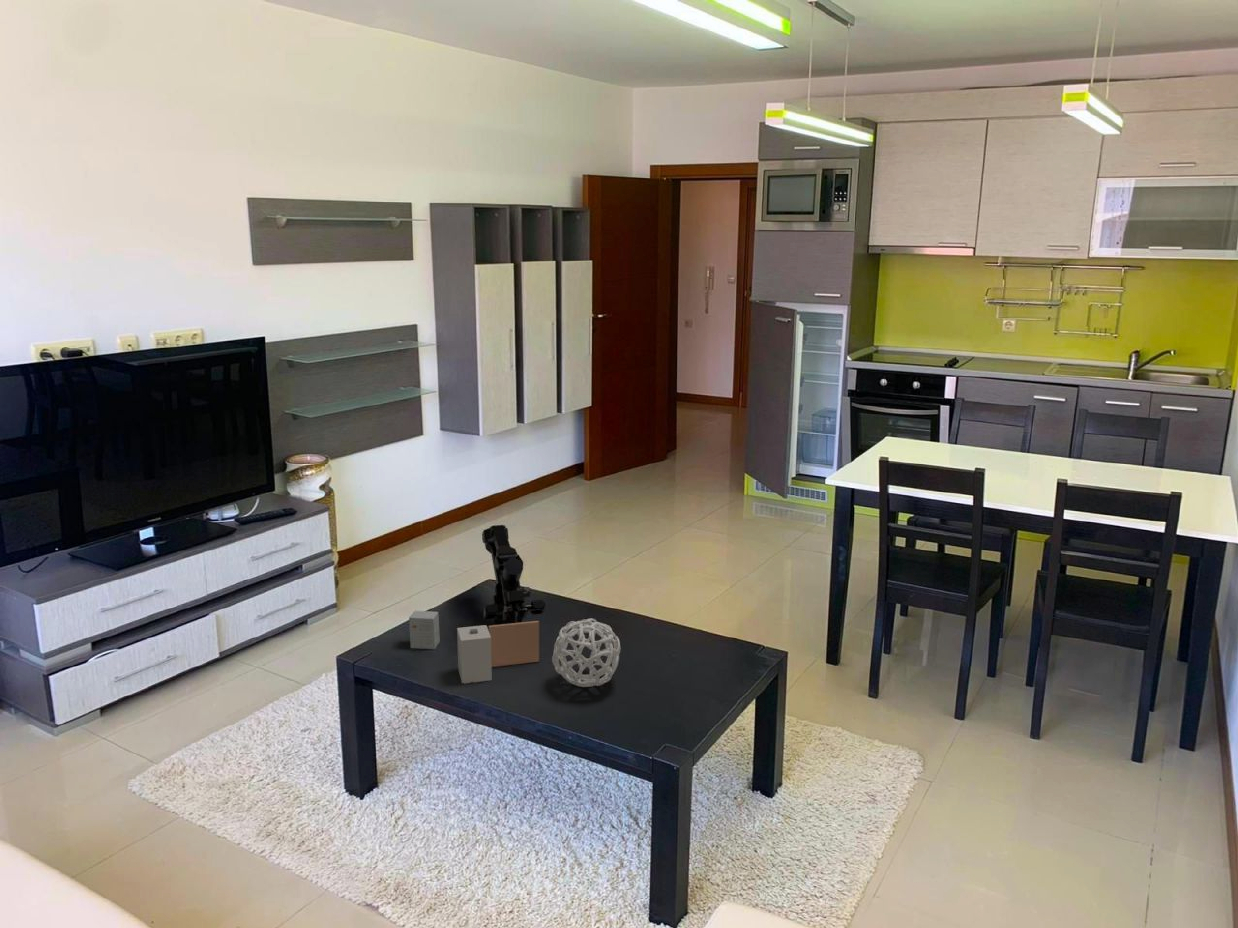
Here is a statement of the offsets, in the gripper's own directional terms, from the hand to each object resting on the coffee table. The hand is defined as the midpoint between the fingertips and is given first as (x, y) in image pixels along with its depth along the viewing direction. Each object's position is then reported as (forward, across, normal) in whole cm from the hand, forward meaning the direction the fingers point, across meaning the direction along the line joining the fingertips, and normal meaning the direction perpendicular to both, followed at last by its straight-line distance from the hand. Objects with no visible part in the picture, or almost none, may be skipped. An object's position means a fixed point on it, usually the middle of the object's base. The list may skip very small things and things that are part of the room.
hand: (518, 635), depth 282 cm
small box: (-6, -27, +16) cm, 32 cm away
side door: (+8, -2, +2) cm, 9 cm away
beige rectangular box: (+11, -15, -1) cm, 18 cm away
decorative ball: (+21, +16, -10) cm, 28 cm away
